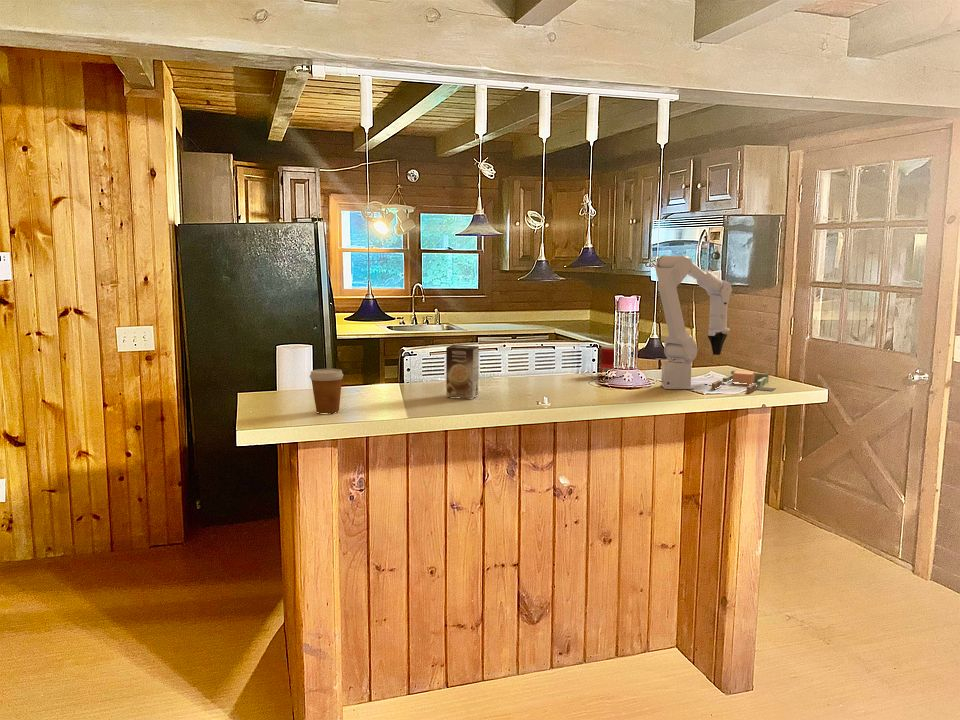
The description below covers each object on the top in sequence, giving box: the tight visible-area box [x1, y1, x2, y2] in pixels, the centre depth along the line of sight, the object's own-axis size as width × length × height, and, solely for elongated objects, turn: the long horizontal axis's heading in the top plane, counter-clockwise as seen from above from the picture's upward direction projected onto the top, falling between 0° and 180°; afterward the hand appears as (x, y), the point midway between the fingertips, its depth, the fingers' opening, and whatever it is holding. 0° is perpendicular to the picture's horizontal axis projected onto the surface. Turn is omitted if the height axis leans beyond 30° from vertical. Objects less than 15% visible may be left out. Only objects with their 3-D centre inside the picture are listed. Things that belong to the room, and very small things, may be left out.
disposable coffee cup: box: [309, 368, 344, 414], centre depth 218 cm, size 10×10×12 cm
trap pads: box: [755, 386, 777, 392], centre depth 256 cm, size 5×22×1 cm, turn 57°
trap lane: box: [710, 370, 770, 394], centre depth 257 cm, size 24×12×3 cm, turn 147°
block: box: [732, 370, 756, 384], centre depth 262 cm, size 6×6×4 cm
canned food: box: [600, 344, 615, 374], centre depth 277 cm, size 8×8×11 cm
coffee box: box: [445, 344, 480, 399], centre depth 239 cm, size 9×6×16 cm
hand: (716, 354), depth 264 cm, fingers closed
